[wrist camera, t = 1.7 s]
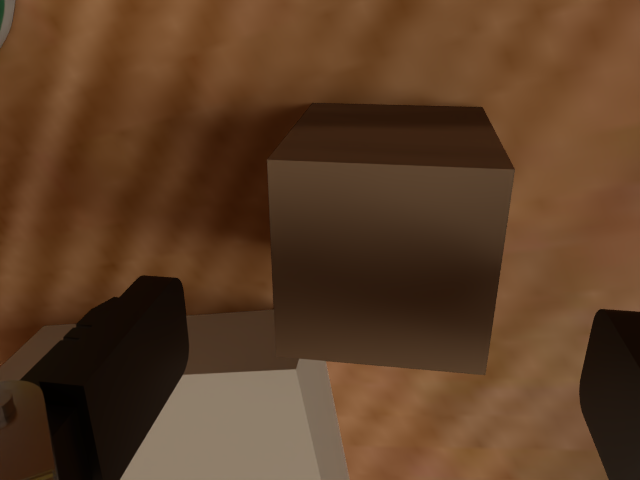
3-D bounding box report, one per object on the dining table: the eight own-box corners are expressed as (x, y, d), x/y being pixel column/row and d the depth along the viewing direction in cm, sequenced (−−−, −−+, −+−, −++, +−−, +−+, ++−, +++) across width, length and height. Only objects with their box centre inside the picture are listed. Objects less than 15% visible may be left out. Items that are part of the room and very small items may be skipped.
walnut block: (313, 102, 17) (266, 160, 12) (482, 107, 17) (514, 169, 11) (314, 250, 19) (275, 356, 14) (464, 260, 19) (485, 374, 13)
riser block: (49, 320, 23) (-19, 385, 19) (316, 301, 21) (295, 369, 17) (130, 517, 27) (87, 600, 24) (359, 518, 25) (350, 610, 21)
